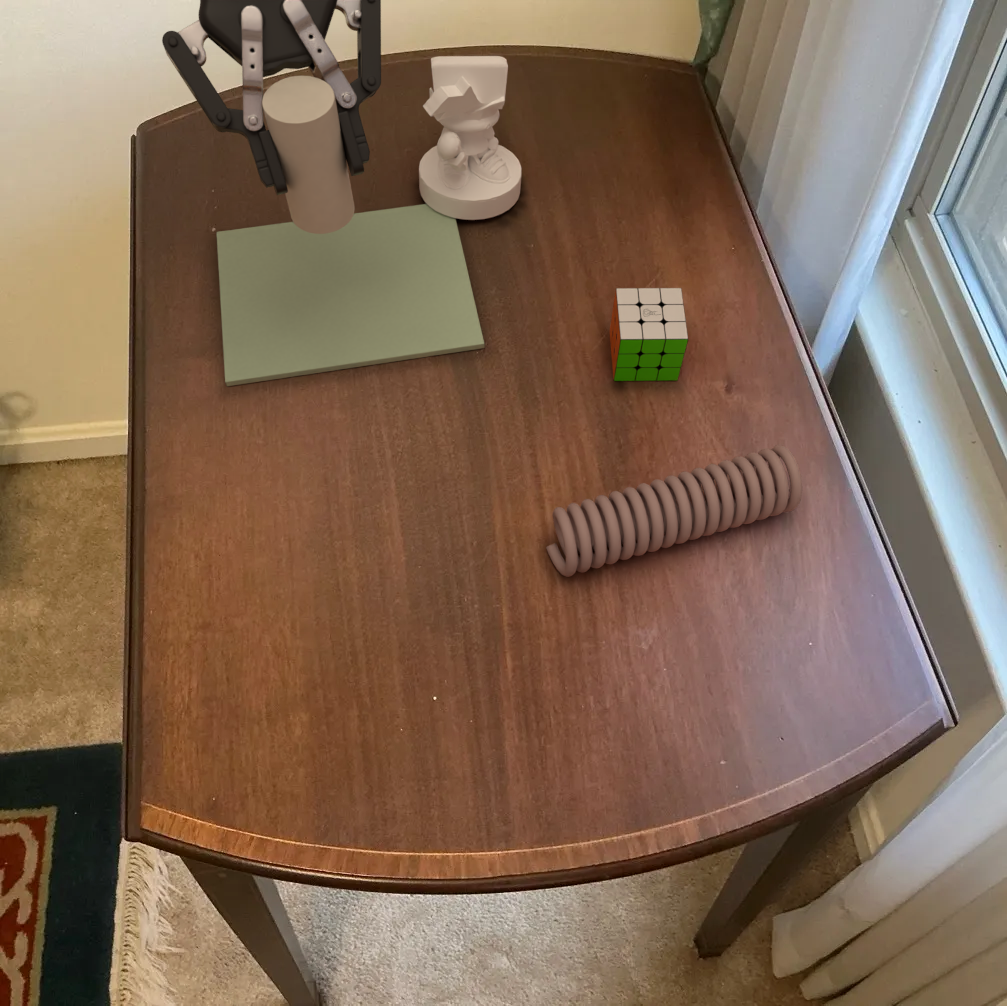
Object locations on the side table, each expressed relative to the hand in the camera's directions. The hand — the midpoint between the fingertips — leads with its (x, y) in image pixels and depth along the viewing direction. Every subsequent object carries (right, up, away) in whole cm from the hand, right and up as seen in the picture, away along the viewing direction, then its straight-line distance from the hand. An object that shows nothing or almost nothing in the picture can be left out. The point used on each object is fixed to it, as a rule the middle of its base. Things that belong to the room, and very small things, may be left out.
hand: (320, 182), depth 62 cm
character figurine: (+9, +7, +22) cm, 25 cm away
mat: (-1, -3, +16) cm, 17 cm away
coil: (+24, -22, +6) cm, 33 cm away
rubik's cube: (+23, -9, +13) cm, 28 cm away
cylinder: (-1, -1, +4) cm, 4 cm away
